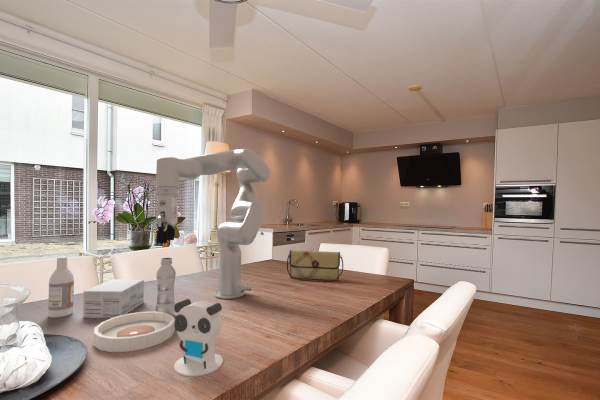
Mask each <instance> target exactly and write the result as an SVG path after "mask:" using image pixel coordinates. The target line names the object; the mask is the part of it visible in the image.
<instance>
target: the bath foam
mask: <svg viewBox="0 0 600 400" xmlns="http://www.w3.org/2000/svg"><path fill="white" fill-rule="evenodd" d="M74 287H75V279H74V274H73V273H72V271H71V270H70V269H69V268H68V256H58V257H56V268H55V270H53V272H52V274H51V275H50V277H49V281H48V305H47V306H48V308H47V311H48V312H47V314H48V315H47V316H48V317H49V318H52V319H54V318H55V319H56V318H57V319H58V318H64V317H66V316H67V317H68V316H69V315H71V314H73V313H74V293H75V291H74V289H75V288H74Z"/></svg>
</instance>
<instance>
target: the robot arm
mask: <svg viewBox="0 0 600 400" xmlns="http://www.w3.org/2000/svg"><path fill="white" fill-rule="evenodd" d="M155 168H156V173H155V174H156V175H155V197H157V201H156V202H157V203H156V215H155V216H156V217H155V218H156V219H155V220H156V243H157V244H166V243H168V241H174V240H175V226H176V224H178V198H179V197H180V196H179V195H180V193H179V192H180V181H190V180H191V181H192V180H196V179H198V178H199V177H201V176H209V175H210V176H211V175H217V174H223V173H226V172H229V171H235V170H236V178H237V182H238V185H239V192H238V194H237V196H236V198H235V200H234V203H233V205H232V206H231V209H230V212H229V216H230V218H231V219H232V221H229V220H228V221H224V222H221V223H220V224H219V225H218V226H217V229H216V239H217V243H218V283H217V284H218V286H217V287H218V288H217V290H215V292H214V294H213V295H214V297H215V298H218V299H223V300H229V299H238V298H241V297H243V296H245V291H247V292H250V291H252V286H251V285H244V284H243V282H242V250H241V247H240V246H249V245H251V244H252V243H253V242H254V241H255V239H256V237H257V235H258V233H259V230H260V228H261V226H262V223H263V220H264V218H265V207H264V205H263V204H262V203H261V202H260V201H257V198H258V191H257V189H256V187H255V185H254V183H265V182H267V181H269V179H270V177H271V169H270V167H269V165H268V164H267V163H266V161H264V160H263V159H262V157H260V156H259V155H258V154H257V153H256V152H254V151H253V150H252V149H250V148H237V149H228V150H224V151H218V152H212V153H207V154H202V155H197V156H193V157H188V158H178V157H174V156H165V155H163V156H159V157H158V158H157V159H156V167H155Z"/></svg>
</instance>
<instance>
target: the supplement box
mask: <svg viewBox="0 0 600 400" xmlns="http://www.w3.org/2000/svg"><path fill="white" fill-rule="evenodd" d="M144 285H145V280H144V279H141V278H140V279H127V278H126V279H125V278H122V279H121V278H119V279H117V278H116V279H113V278H111V279H109V280H107V281H105V282H102V283H99V284H98V285H94V286H93V287H90V288H88V289H86V290H83V294H82V295H83V300H82V301H83V302H82V303H83V306H82V309H83V310H82V314H83V315H82V317H83V318H93V319H95V318H99V319H100V318H103V319H105V318H108V319H111V318H113V317H117V316H121V315H125V314H129V313H130V312H131V310H132V311H133V310H135V309H136V308H137V307H139V306H141V305H142V304H143V303H144V301H145V300H144V297H145V288H144V287H145V286H144ZM134 308H135V309H134ZM128 312H129V313H128Z"/></svg>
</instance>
